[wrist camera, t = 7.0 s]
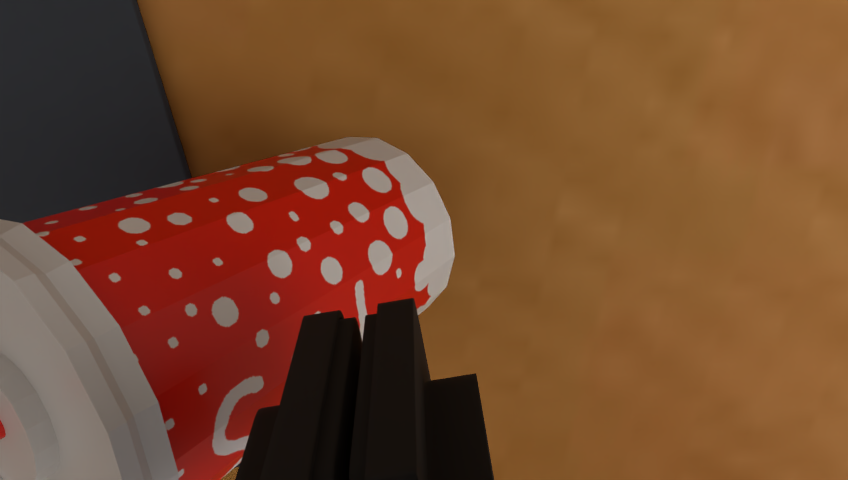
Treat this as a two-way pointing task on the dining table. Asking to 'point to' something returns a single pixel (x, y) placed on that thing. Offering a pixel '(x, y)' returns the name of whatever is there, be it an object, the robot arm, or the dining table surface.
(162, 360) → the beverage cup
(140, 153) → the mat
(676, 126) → the dining table surface
